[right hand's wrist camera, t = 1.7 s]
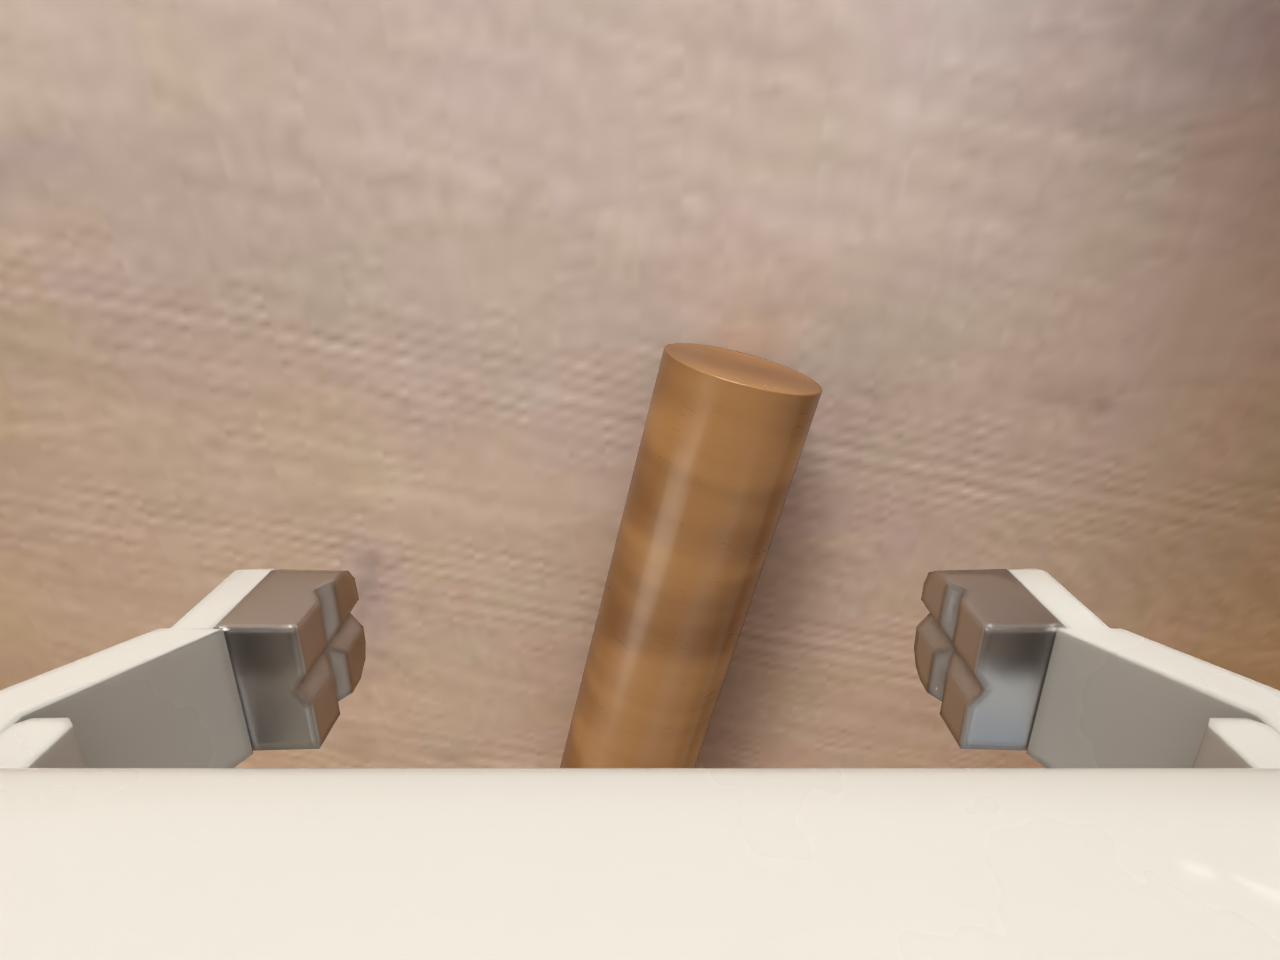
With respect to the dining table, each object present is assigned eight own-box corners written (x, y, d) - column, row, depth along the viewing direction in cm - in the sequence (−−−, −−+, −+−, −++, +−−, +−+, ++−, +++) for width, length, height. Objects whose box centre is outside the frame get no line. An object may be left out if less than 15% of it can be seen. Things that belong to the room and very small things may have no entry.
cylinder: (663, 333, 29) (665, 365, 23) (805, 367, 29) (839, 407, 24) (557, 763, 37) (540, 862, 32) (669, 785, 38) (671, 887, 32)
